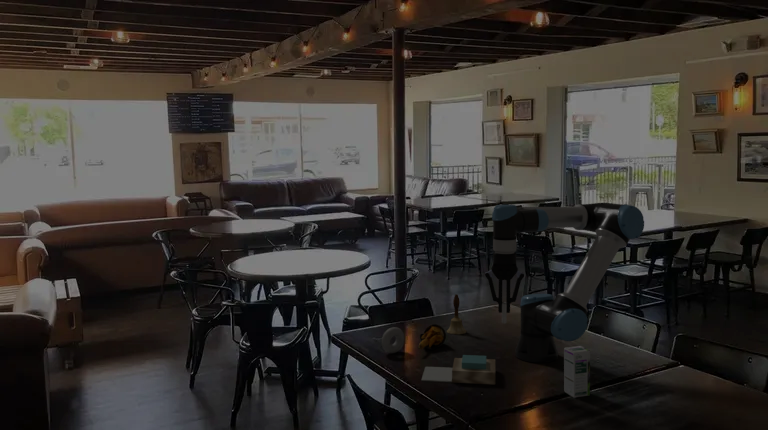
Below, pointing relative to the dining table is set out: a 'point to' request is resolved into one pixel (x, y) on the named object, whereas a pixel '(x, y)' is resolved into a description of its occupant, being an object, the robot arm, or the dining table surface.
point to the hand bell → (456, 320)
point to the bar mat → (437, 374)
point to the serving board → (473, 373)
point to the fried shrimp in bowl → (432, 337)
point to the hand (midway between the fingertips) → (504, 322)
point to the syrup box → (577, 371)
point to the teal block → (473, 362)
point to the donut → (387, 340)
